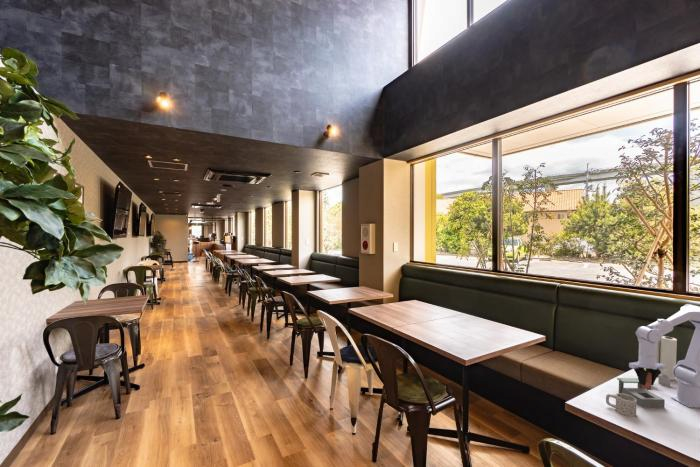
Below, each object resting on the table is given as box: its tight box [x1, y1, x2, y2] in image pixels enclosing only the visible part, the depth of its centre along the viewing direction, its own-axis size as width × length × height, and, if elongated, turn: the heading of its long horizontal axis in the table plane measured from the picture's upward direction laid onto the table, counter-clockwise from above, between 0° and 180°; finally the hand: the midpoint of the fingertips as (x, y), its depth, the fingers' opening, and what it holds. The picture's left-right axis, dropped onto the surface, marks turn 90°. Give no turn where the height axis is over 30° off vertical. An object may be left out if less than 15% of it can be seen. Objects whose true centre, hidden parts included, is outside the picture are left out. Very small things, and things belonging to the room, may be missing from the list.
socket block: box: [616, 377, 665, 409], centre depth 145 cm, size 11×12×7 cm
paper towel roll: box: [656, 335, 678, 381], centre depth 168 cm, size 7×6×21 cm
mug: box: [605, 392, 638, 418], centre depth 136 cm, size 10×7×7 cm, turn 44°
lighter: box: [658, 374, 671, 388], centre depth 161 cm, size 7×2×8 cm, turn 42°
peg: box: [642, 372, 652, 391], centre depth 142 cm, size 3×3×7 cm
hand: (646, 384), depth 142 cm, fingers closed on peg, 3 cm apart
